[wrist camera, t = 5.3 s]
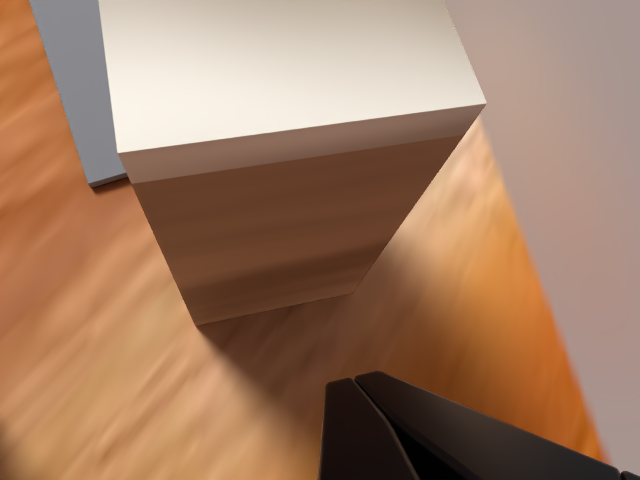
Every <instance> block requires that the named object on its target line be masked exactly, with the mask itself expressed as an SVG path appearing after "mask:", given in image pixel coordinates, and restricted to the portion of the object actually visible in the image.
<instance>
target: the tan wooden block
mask: <svg viewBox="0 0 640 480" xmlns="http://www.w3.org/2000/svg"><path fill="white" fill-rule="evenodd" d="M98 2H99V10H100V18H101V26H102V34H103V42H104V50H105V58H106V66H107V74H108V82H109V90H110V97H111V105H112V113H113V121H114V129H115V137H116V145H117V153H118V155H119V158H120V160H121V162H122V164H123V166H124V169H125V171H126V173H127V175H128V178H129V180H130V182H131V184H132V186H133V189H134V191H135V193H136V195H137V198H138V200H139V202H140V204H141V206H142V209H143V211H144V213H145V215H146V218H147V220H148V222H149V224H150V226H151V229H152V231H153V233H154V235H155V238H156V240H157V242H158V244H159V246H160V249H161V251H162V253H163V255H164V257H165V260H166V262H167V264H168V266H169V269H170V271H171V273H172V275H173V277H174V280H175V282H176V284H177V286H178V289H179V291H180V293H181V295H182V297H183V300H184V302H185V304H186V306H187V309H188V311H189V313H190V315H191V317H192V320H193V322H194V324H195V326H198V325H202V324H207V323H212V322H217V321H222V320H226V319H231V318H236V317H241V316H246V315H250V314H255V313H260V312H265V311H270V310H274V309H279V308H284V307H289V306H294V305H298V304H303V303H308V302H313V301H318V300H322V299H327V298H332V297H337V296H341V295H346V294H351V293H353V292H354V290H355V289H356V287H357V286H358V284H359V283H360V282H361V280H362V279H363V277H364V276H365V275H366V273H367V272H368V270H369V269H370V268H371V266H372V265H373V263H374V262H375V260H376V259H377V258H378V256H379V255H380V253H381V252H382V251H383V249H384V248H385V246H386V245H387V244H388V242H389V241H390V239H391V238H392V236H393V235H394V234H395V232H396V231H397V229H398V228H399V227H400V225H401V224H402V222H403V221H404V220H405V218H406V217H407V215H408V214H409V212H410V211H411V210H412V208H413V207H414V205H415V204H416V203H417V201H418V200H419V198H420V197H421V196H422V194H423V193H424V191H425V190H426V188H427V187H428V186H429V184H430V183H431V181H432V180H433V179H434V177H435V176H436V174H437V173H438V172H439V170H440V169H441V167H442V166H443V164H444V163H445V162H446V160H447V159H448V157H449V156H450V155H451V153H452V152H453V150H454V149H455V148H456V146H457V145H458V143H459V142H460V141H461V139H462V138H463V136H464V135H465V133H466V132H467V131H468V129H469V128H470V126H471V125H472V124H473V122H474V121H475V119H476V118H477V117H478V115H479V114H480V112H481V111H482V109H483V108H484V107H485V105H486V104H487V102H486V100H485V98H484V95H483V93H482V91H481V88H480V86H479V83H478V81H477V79H476V76H475V74H474V72H473V69H472V67H471V64H470V62H469V60H468V57H467V55H466V52H465V50H464V47H463V45H462V43H461V40H460V38H459V36H458V33H457V31H456V29H455V26H454V24H453V21H452V19H451V17H450V14H449V12H448V10H447V7H446V5H445V2H444V0H98Z"/></svg>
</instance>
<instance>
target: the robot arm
mask: <svg viewBox="0 0 640 480" xmlns="http://www.w3.org/2000/svg"><path fill="white" fill-rule="evenodd" d="M317 480H640V476H637V475H635V474H633V473H630V472H628V471H623V472H621V474H620V472H619V471H618V469H617V468H615V467H613V466H610V465H608V464H605V463H603V462H600V461H598V460H596V459H593V458H591V457H588V456H586V455H583V454H581V453H579V452H576V451H574V450H571V449H569V448H566V447H564V446H561V445H559V444H557V443H554V442H552V441H549V440H547V439H544V438H542V437H540V436H537V435H535V434H532V433H530V432H527V431H525V430H523V429H520V428H518V427H515V426H513V425H510V424H508V423H505V422H503V421H501V420H498V419H496V418H493V417H491V416H488V415H486V414H484V413H481V412H479V411H476V410H474V409H471V408H469V407H467V406H464V405H462V404H459V403H457V402H454V401H452V400H449V399H447V398H445V397H442V396H440V395H437V394H435V393H432V392H430V391H428V390H425V389H423V388H420V387H418V386H415V385H413V384H411V383H408V382H406V381H403V380H401V379H398V378H396V377H393V376H391V375H389V374H386V373H384V372H381V371H374V372H370V373H366V374H362V375H358V376H356V377H355V378H354V380H353V379H351V378H346V379H341V380H337V381H333V382H329V383H328V384H326V387H325V396H324V408H323V419H322V431H321V442H320V453H319V465H318V476H317Z"/></svg>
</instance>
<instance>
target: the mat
mask: <svg viewBox="0 0 640 480" xmlns="http://www.w3.org/2000/svg"><path fill="white" fill-rule="evenodd" d="M29 2H30V5H31V8H32V11H33V14H34V17H35V20H36V24H37V27H38V30H39V33H40V36H41V39H42V42H43V45H44V48H45V51H46V54H47V58H48V61H49V64H50V67H51V70H52V73H53V76H54V79H55V82H56V85H57V89H58V92H59V95H60V98H61V101H62V104H63V107H64V110H65V113H66V116H67V120H68V123H69V126H70V129H71V132H72V135H73V138H74V141H75V144H76V147H77V150H78V154H79V157H80V160H81V163H82V166H83V169H84V172H85V175H86V178H87V181H88V184H89V186H90V187H91V188H92V187H96V186H99V185H102V184H106V183H109V182H112V181H116V180H119V179H122V178H126V177H128V175H127V173H126V171H125V169H124V166H123V164H122V162H121V160H120V158H119V155H118V153H117V145H116V137H115V129H114V121H113V113H112V105H111V97H110V90H109V82H108V74H107V66H106V58H105V50H104V42H103V34H102V26H101V18H100V10H99V2H98V0H29Z"/></svg>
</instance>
